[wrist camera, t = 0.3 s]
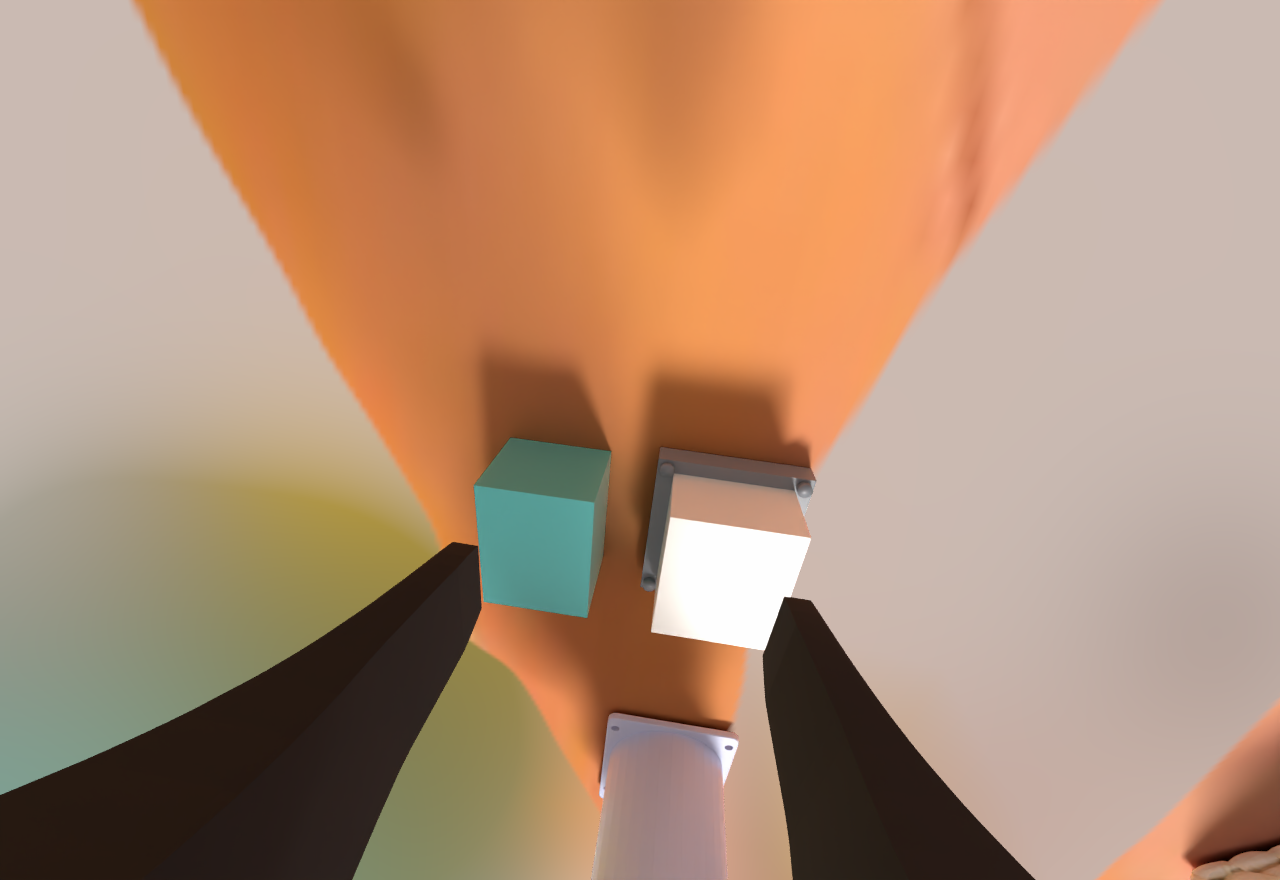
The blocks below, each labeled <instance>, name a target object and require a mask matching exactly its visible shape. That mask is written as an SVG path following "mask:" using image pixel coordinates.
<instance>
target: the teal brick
mask: <svg viewBox="0 0 1280 880" xmlns="http://www.w3.org/2000/svg"><path fill="white" fill-rule="evenodd" d="M610 464H611V451H606V450H599V449H591V448H584V447H577V446H569V445H562V444H555V443H547V442H540V441H533V440H525V439H518V438H510V439H509V440H508V442H507V443H506V444H505V445H504V447H503V448H502V449H501V451H500V452H499V453H498V455H497V456H496V457H495V458H494V460H493V461H492V462H491V464H490V465H489V466H488V468H487V469H486V470H485V471H484V473H483V474H482V475H481V477H480V478H479V479H478V480H477V482H476V483H475V484H474V494H475V505H476V517H477V529H478V540H479V552H480V564H481V575H482V587H483V598H484V602H488V603H495V604H501V605H508V606H514V607H520V608H527V609H533V610H539V611H546V612H552V613H559V614H565V615H571V616H578V617H584V618H587V617H588V613H589V609H590V605H591V601H592V598H593V594H594V590H595V586H596V582H597V578H598V574H599V570H600V567H601V563H602V559H603V553H604V540H605V527H606V515H607V502H608V489H609V476H610Z"/></svg>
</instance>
